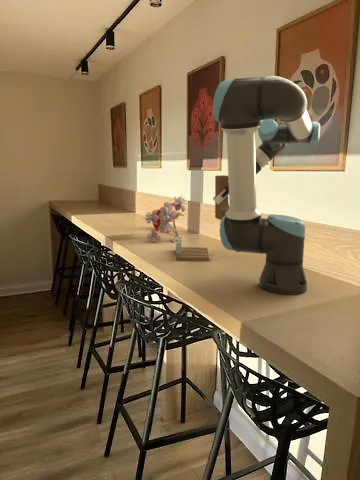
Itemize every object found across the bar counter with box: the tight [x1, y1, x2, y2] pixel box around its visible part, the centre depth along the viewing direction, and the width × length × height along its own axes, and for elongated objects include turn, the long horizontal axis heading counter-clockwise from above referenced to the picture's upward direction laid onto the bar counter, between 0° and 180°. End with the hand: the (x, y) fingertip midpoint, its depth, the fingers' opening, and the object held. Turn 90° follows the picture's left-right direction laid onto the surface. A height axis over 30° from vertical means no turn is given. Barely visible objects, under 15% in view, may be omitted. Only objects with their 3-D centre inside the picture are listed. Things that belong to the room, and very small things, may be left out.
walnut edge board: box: [175, 236, 210, 262], centre depth 168 cm, size 20×14×6 cm
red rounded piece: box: [151, 208, 163, 231], centre depth 233 cm, size 10×10×14 cm
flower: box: [142, 194, 186, 244], centre depth 198 cm, size 20×22×25 cm
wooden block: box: [214, 174, 230, 221], centre depth 158 cm, size 9×4×18 cm, turn 13°
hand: (215, 201), depth 160 cm, fingers closed on wooden block, 6 cm apart
